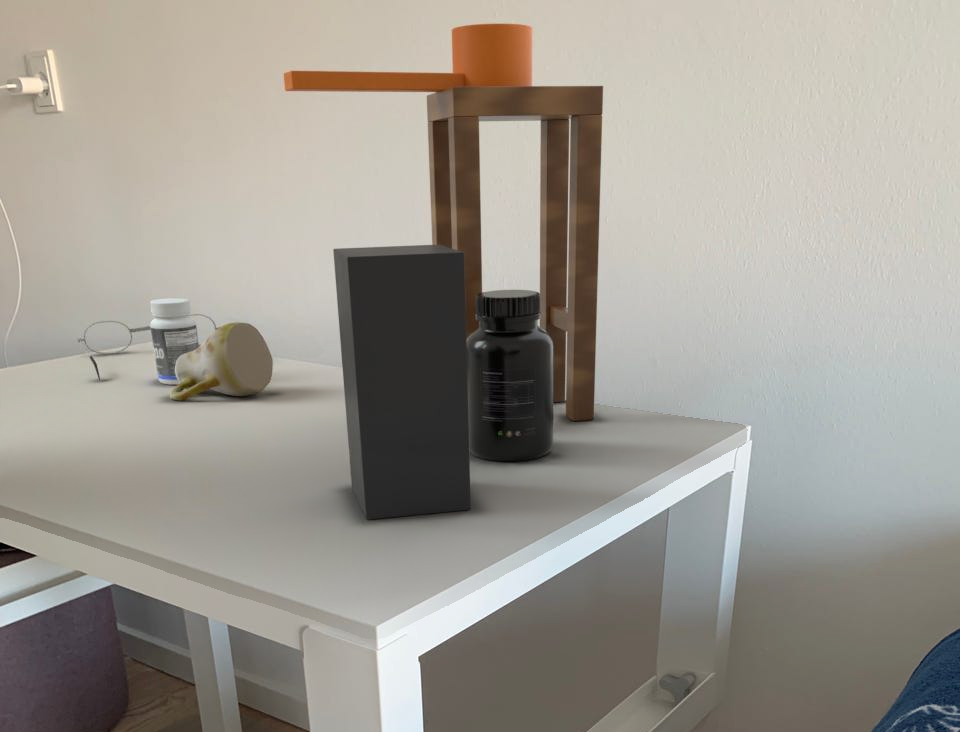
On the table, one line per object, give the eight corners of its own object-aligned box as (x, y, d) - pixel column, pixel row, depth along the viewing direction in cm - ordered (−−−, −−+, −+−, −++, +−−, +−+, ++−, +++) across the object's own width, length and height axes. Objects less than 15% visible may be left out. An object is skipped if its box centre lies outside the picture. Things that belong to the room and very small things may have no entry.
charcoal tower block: (366, 520, 65) (347, 256, 58) (351, 489, 71) (333, 248, 64) (471, 509, 66) (464, 252, 60) (448, 481, 73) (439, 244, 66)
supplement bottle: (469, 441, 83) (465, 288, 78) (551, 439, 83) (553, 286, 77) (465, 463, 77) (460, 299, 72) (554, 462, 76) (556, 297, 71)
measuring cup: (300, 86, 72) (294, 15, 70) (277, 93, 78) (271, 26, 76) (546, 89, 80) (546, 24, 78) (509, 94, 85) (509, 34, 83)
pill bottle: (156, 379, 110) (143, 299, 107) (199, 375, 112) (188, 296, 108) (161, 386, 106) (149, 304, 103) (206, 382, 108) (195, 301, 104)
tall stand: (462, 430, 86) (452, 86, 75) (438, 406, 95) (426, 95, 84) (594, 419, 89) (603, 85, 78) (558, 397, 98) (562, 94, 86)
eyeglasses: (223, 343, 132) (219, 311, 130) (259, 369, 117) (255, 334, 115) (79, 355, 125) (73, 322, 124) (97, 386, 110) (91, 348, 108)
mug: (197, 385, 108) (234, 301, 104) (258, 435, 105) (298, 350, 101) (145, 380, 101) (181, 289, 97) (208, 433, 98) (248, 342, 94)
